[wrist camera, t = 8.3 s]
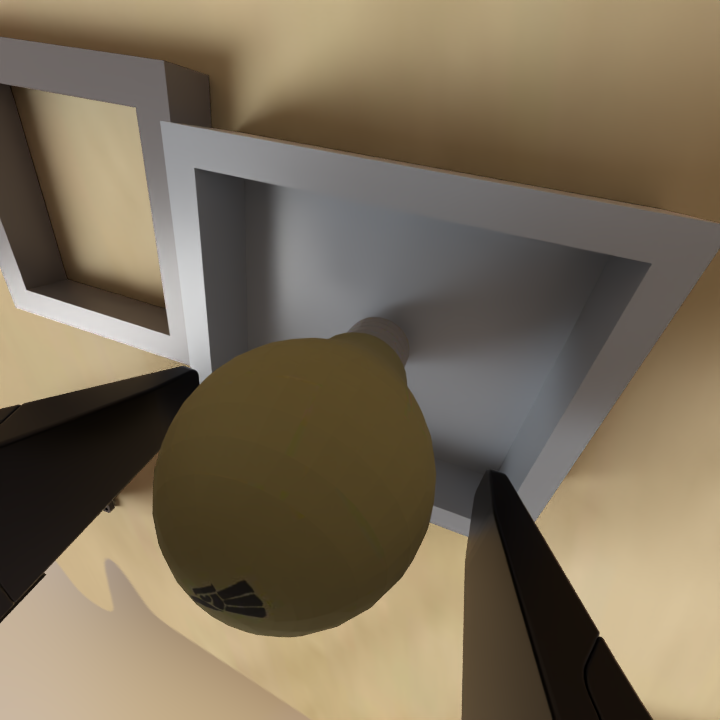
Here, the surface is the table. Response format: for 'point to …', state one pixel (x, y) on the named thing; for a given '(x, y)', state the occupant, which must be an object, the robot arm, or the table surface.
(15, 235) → the socket collar
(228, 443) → the light bulb
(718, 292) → the table surface
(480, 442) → the parts tray
